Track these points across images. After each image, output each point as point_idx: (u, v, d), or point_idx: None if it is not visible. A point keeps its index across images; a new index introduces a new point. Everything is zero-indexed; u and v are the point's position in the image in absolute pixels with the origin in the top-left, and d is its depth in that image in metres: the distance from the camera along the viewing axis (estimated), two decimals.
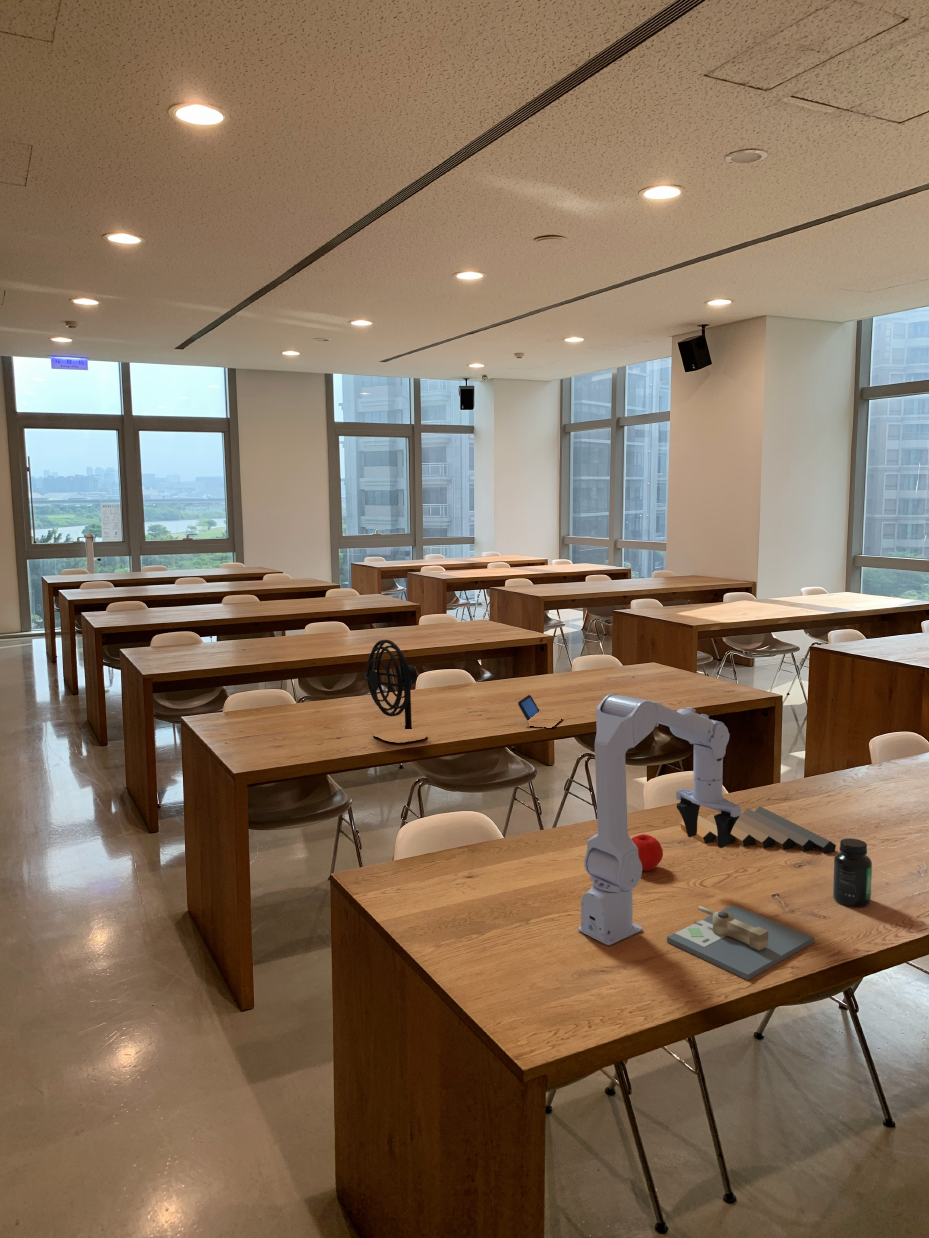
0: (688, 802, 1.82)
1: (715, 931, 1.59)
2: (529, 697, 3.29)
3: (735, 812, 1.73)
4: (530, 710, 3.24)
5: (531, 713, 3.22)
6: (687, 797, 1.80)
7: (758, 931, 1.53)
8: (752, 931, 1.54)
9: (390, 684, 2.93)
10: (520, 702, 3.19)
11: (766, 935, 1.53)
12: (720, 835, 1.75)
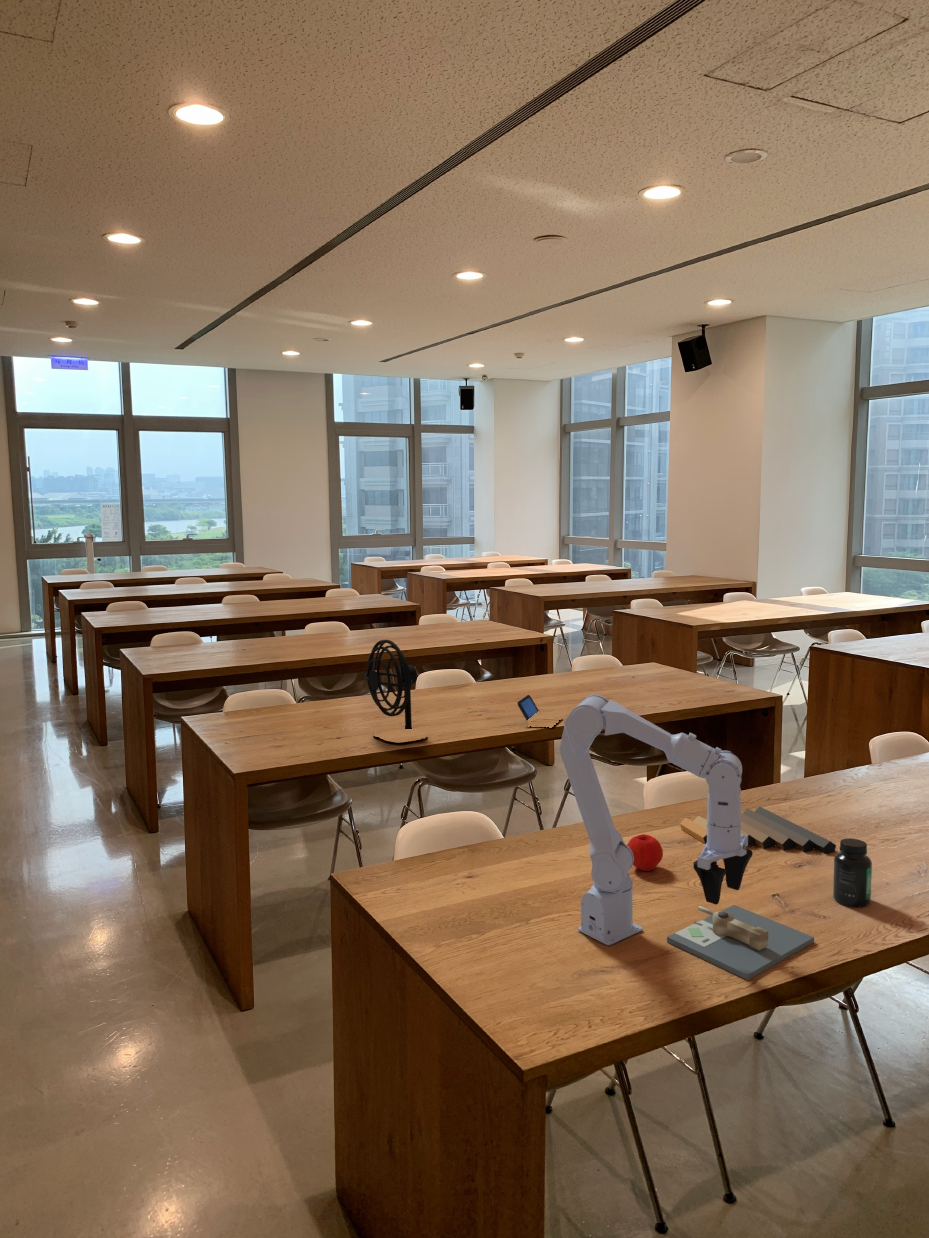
0: None
1: (715, 931, 1.59)
2: (528, 697, 3.29)
3: (698, 862, 1.50)
4: (530, 710, 3.24)
5: (530, 713, 3.23)
6: None
7: (758, 931, 1.53)
8: (752, 931, 1.54)
9: (390, 684, 2.93)
10: (519, 702, 3.19)
11: (766, 935, 1.53)
12: None
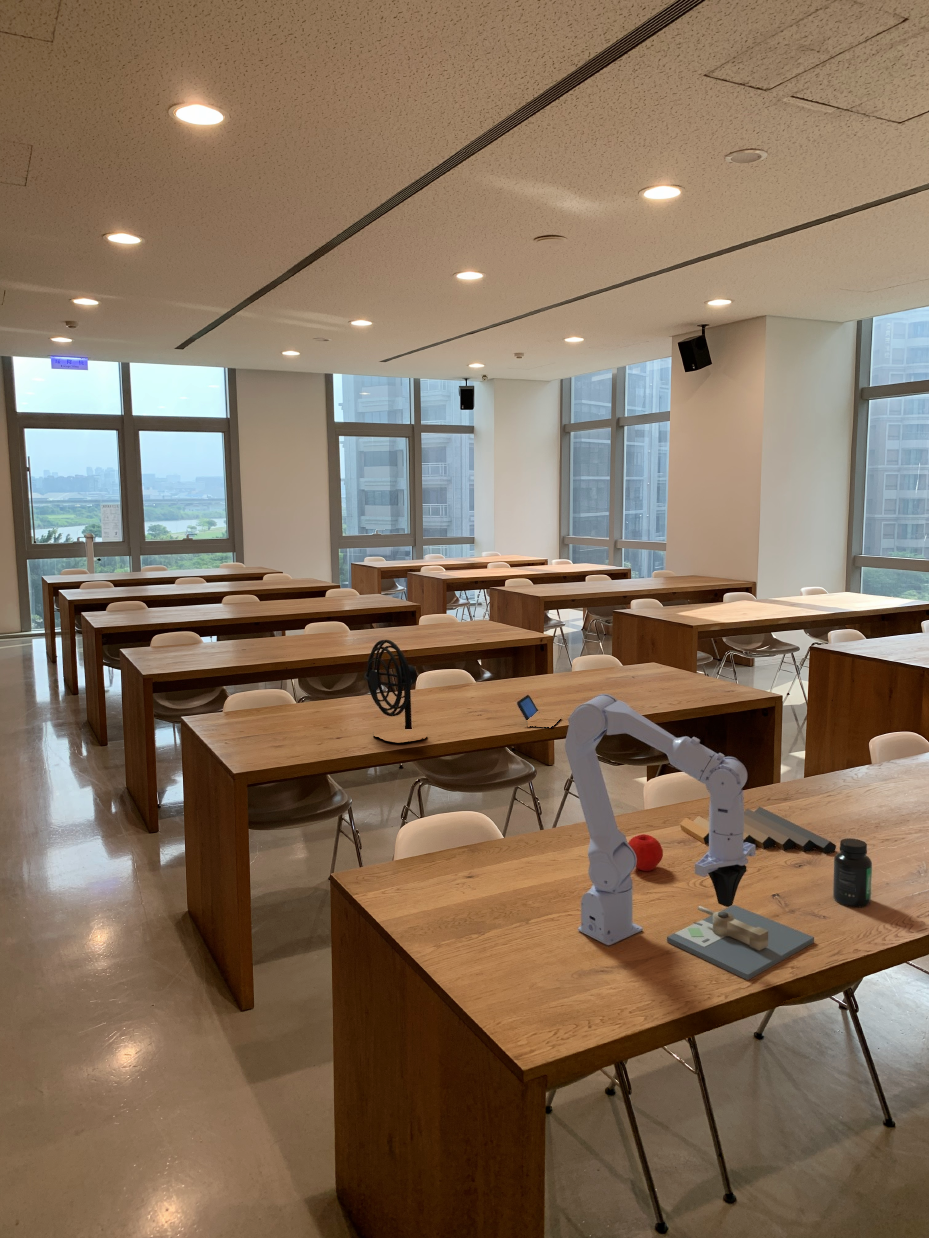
0: None
1: (715, 931, 1.59)
2: (528, 697, 3.29)
3: (695, 868, 1.48)
4: (529, 710, 3.24)
5: (530, 713, 3.23)
6: None
7: (758, 931, 1.53)
8: (752, 931, 1.54)
9: (390, 684, 2.93)
10: (519, 702, 3.19)
11: (766, 935, 1.53)
12: None
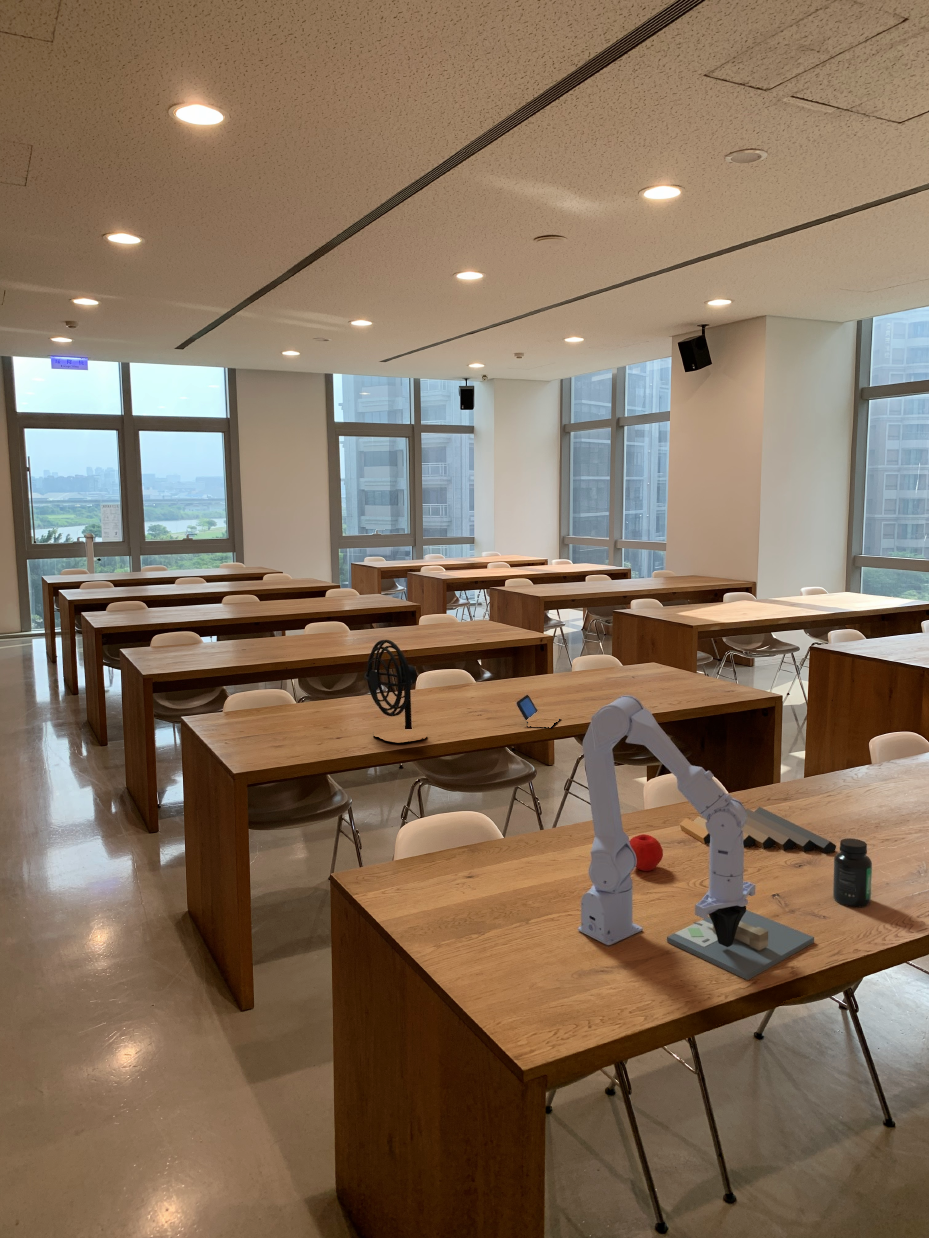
0: None
1: (715, 931, 1.59)
2: (527, 697, 3.29)
3: (696, 910, 1.49)
4: (529, 710, 3.24)
5: (529, 713, 3.23)
6: None
7: (758, 931, 1.53)
8: (752, 931, 1.54)
9: (390, 684, 2.93)
10: (518, 702, 3.19)
11: (766, 935, 1.53)
12: None
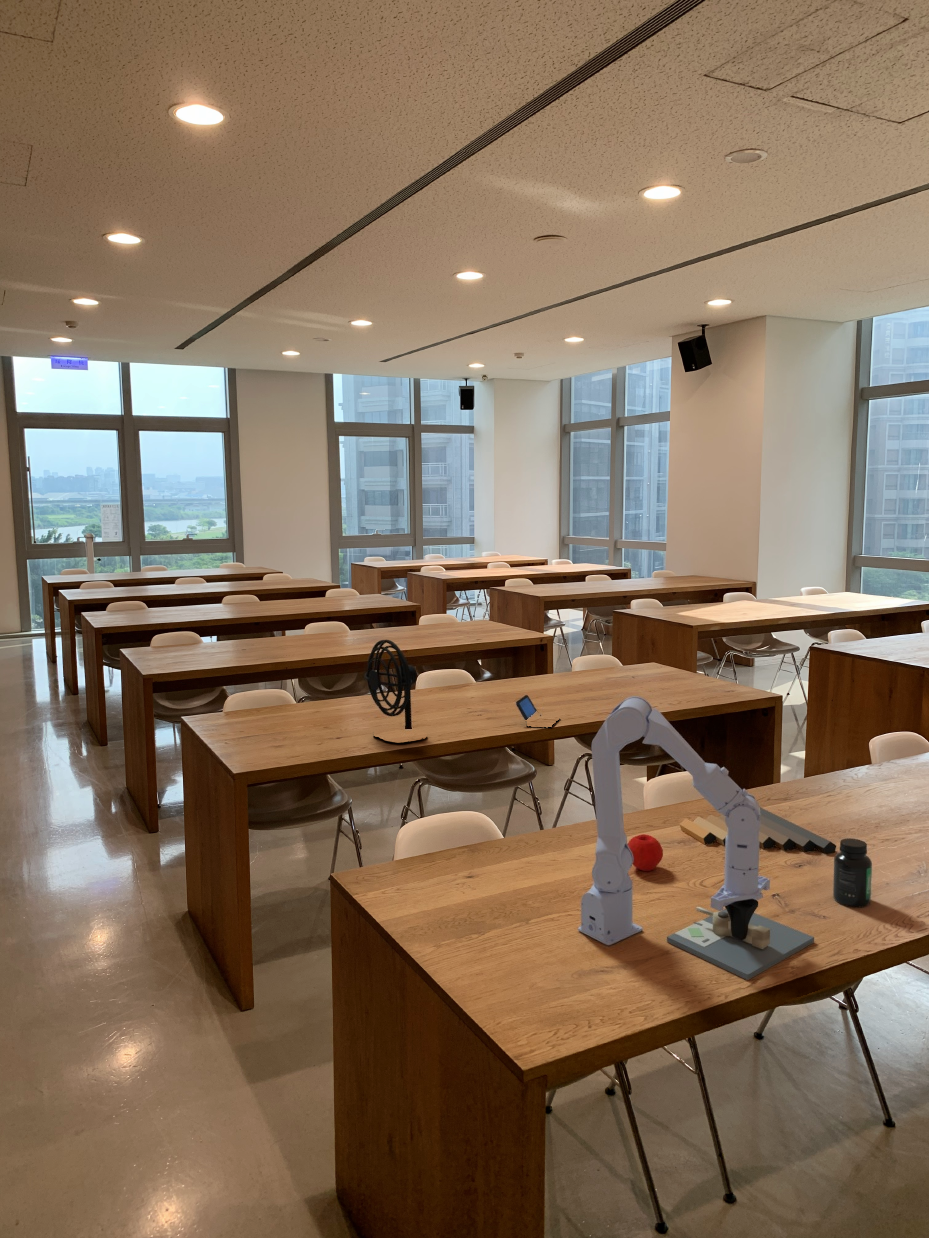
0: None
1: (716, 931, 1.59)
2: (526, 697, 3.30)
3: (711, 902, 1.51)
4: (528, 710, 3.24)
5: (529, 713, 3.23)
6: None
7: (760, 930, 1.54)
8: (754, 930, 1.54)
9: (390, 684, 2.93)
10: (518, 702, 3.19)
11: (768, 934, 1.54)
12: None
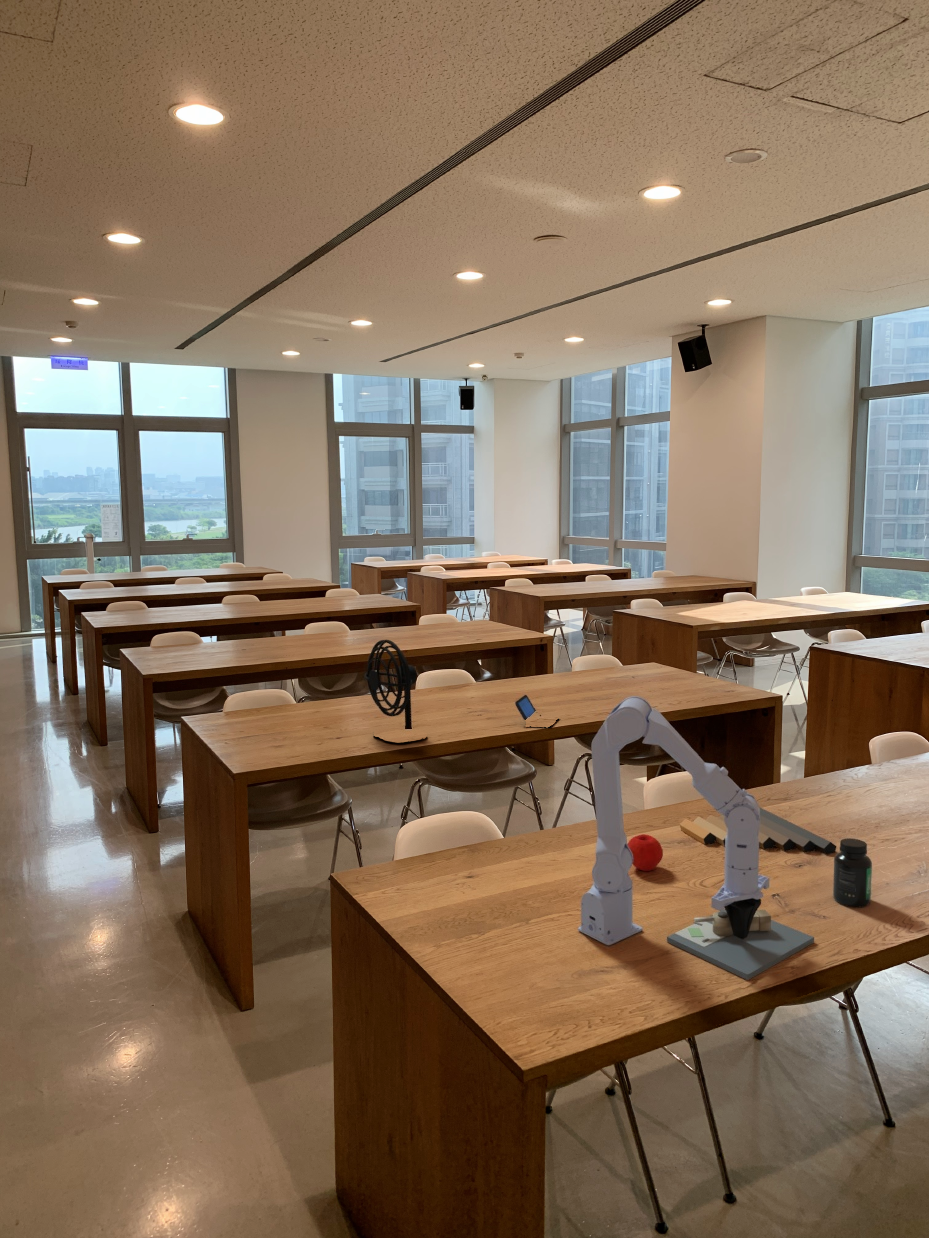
0: None
1: (725, 933, 1.58)
2: (525, 697, 3.30)
3: (712, 902, 1.52)
4: (527, 710, 3.24)
5: (528, 713, 3.23)
6: None
7: (763, 913, 1.60)
8: (761, 915, 1.59)
9: (390, 684, 2.93)
10: (517, 702, 3.19)
11: None
12: None
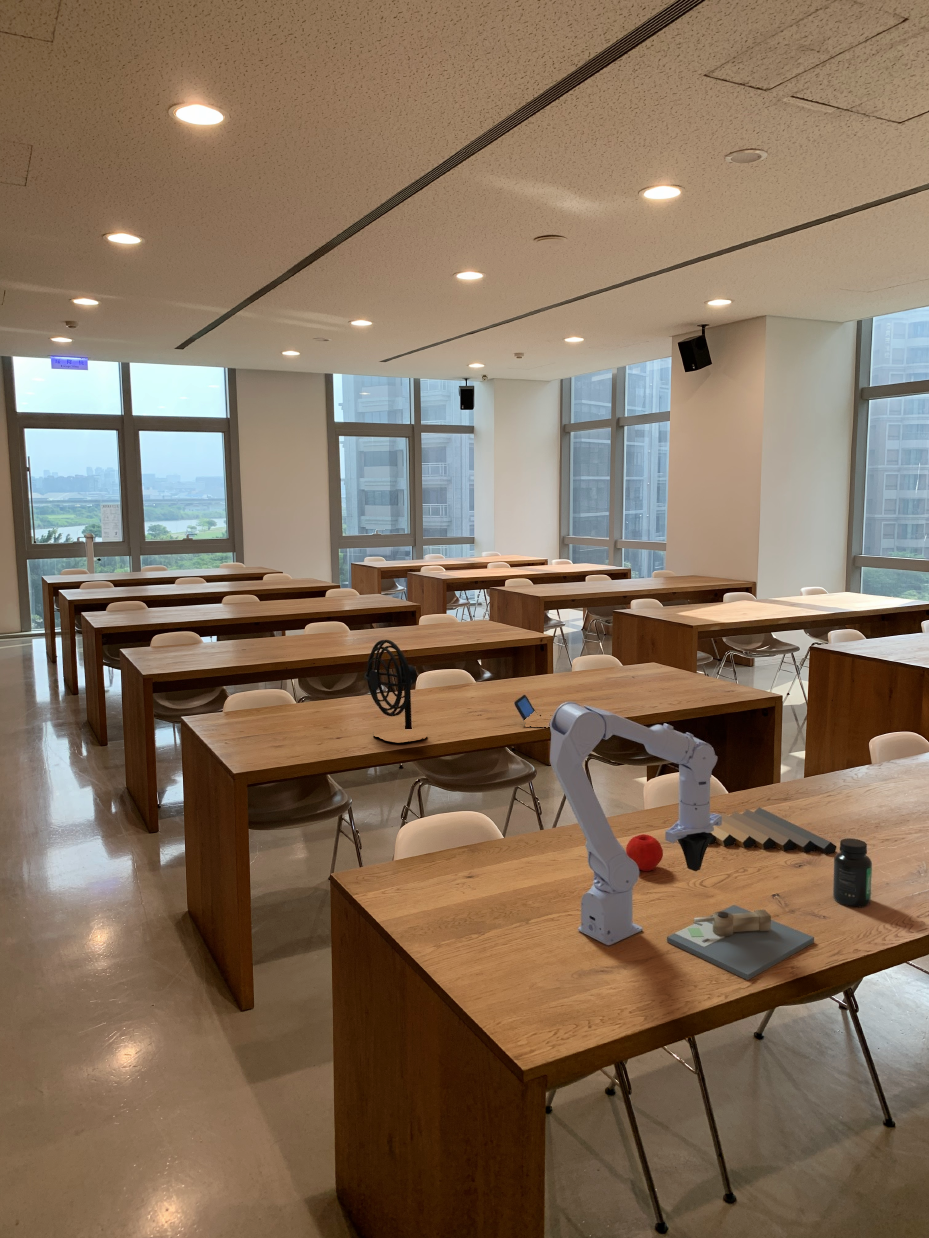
0: None
1: (725, 933, 1.58)
2: (524, 697, 3.30)
3: (666, 835, 1.63)
4: (526, 710, 3.24)
5: (527, 713, 3.23)
6: None
7: (763, 913, 1.60)
8: (761, 915, 1.59)
9: (390, 684, 2.93)
10: (516, 702, 3.20)
11: None
12: None
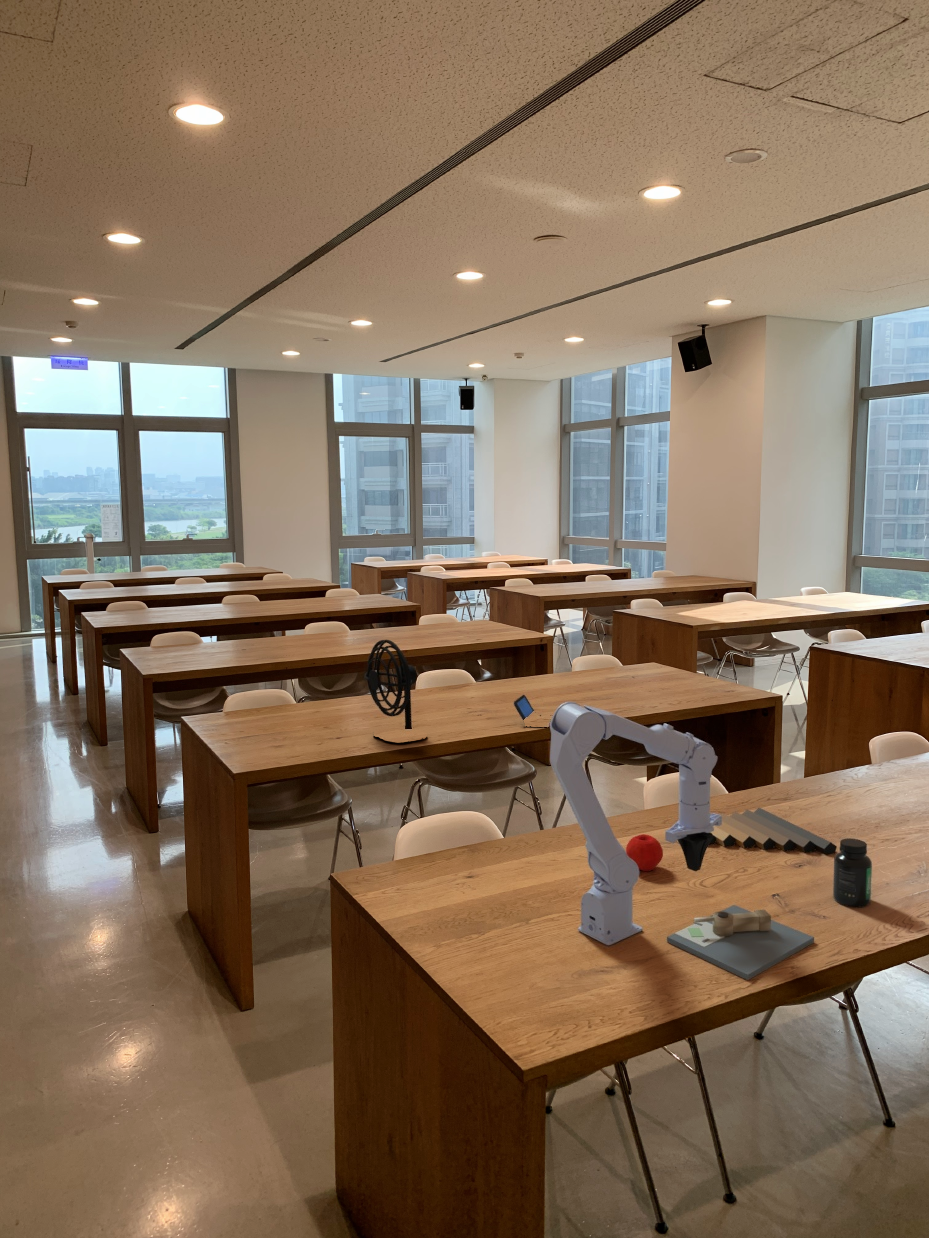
0: None
1: (725, 933, 1.58)
2: (524, 697, 3.30)
3: (666, 835, 1.63)
4: (526, 710, 3.24)
5: (526, 713, 3.23)
6: None
7: (763, 913, 1.60)
8: (761, 915, 1.59)
9: (390, 684, 2.93)
10: (515, 702, 3.20)
11: None
12: None
